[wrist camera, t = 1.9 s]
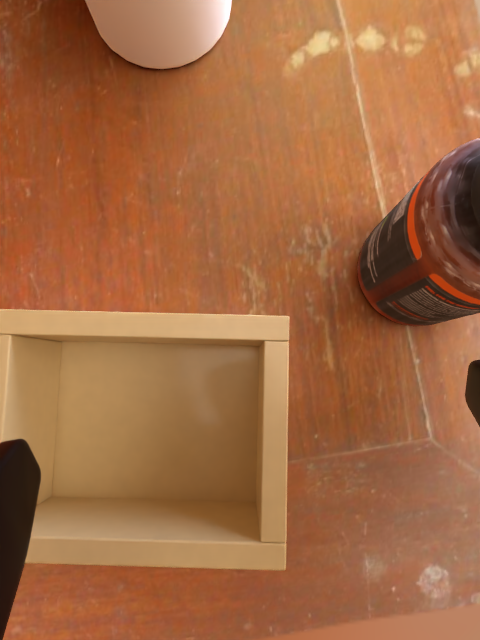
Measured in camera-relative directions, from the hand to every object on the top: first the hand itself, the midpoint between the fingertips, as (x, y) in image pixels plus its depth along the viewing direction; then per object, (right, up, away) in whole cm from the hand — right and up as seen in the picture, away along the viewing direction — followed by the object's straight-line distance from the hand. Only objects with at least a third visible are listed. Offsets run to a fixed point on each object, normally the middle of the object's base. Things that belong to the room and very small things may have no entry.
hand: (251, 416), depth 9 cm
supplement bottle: (+9, +4, +15) cm, 18 cm away
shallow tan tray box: (-4, -3, +14) cm, 15 cm away
